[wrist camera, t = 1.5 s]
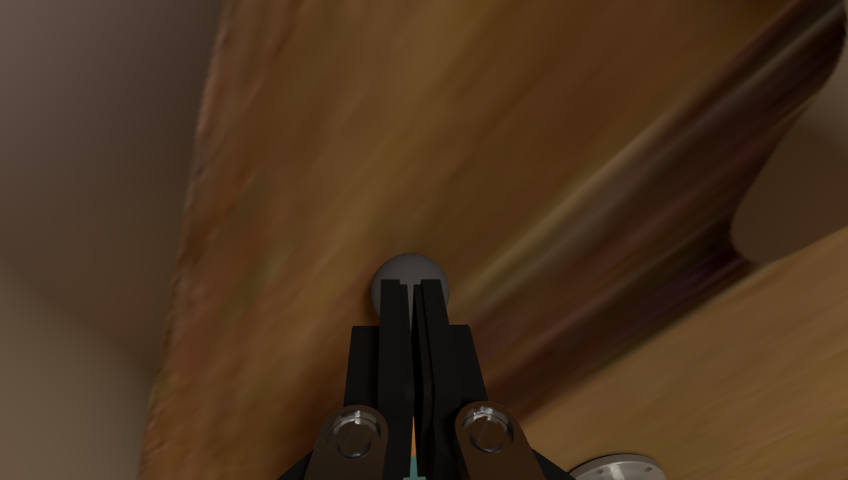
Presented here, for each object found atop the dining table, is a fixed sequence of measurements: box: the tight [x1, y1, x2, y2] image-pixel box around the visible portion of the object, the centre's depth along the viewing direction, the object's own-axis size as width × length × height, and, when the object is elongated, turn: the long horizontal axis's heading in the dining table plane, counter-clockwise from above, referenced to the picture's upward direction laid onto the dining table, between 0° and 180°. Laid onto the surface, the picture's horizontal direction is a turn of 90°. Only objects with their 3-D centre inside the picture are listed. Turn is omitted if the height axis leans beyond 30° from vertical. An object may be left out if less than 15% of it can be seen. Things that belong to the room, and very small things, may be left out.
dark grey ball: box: [371, 254, 449, 330], centre depth 29 cm, size 6×6×6 cm
